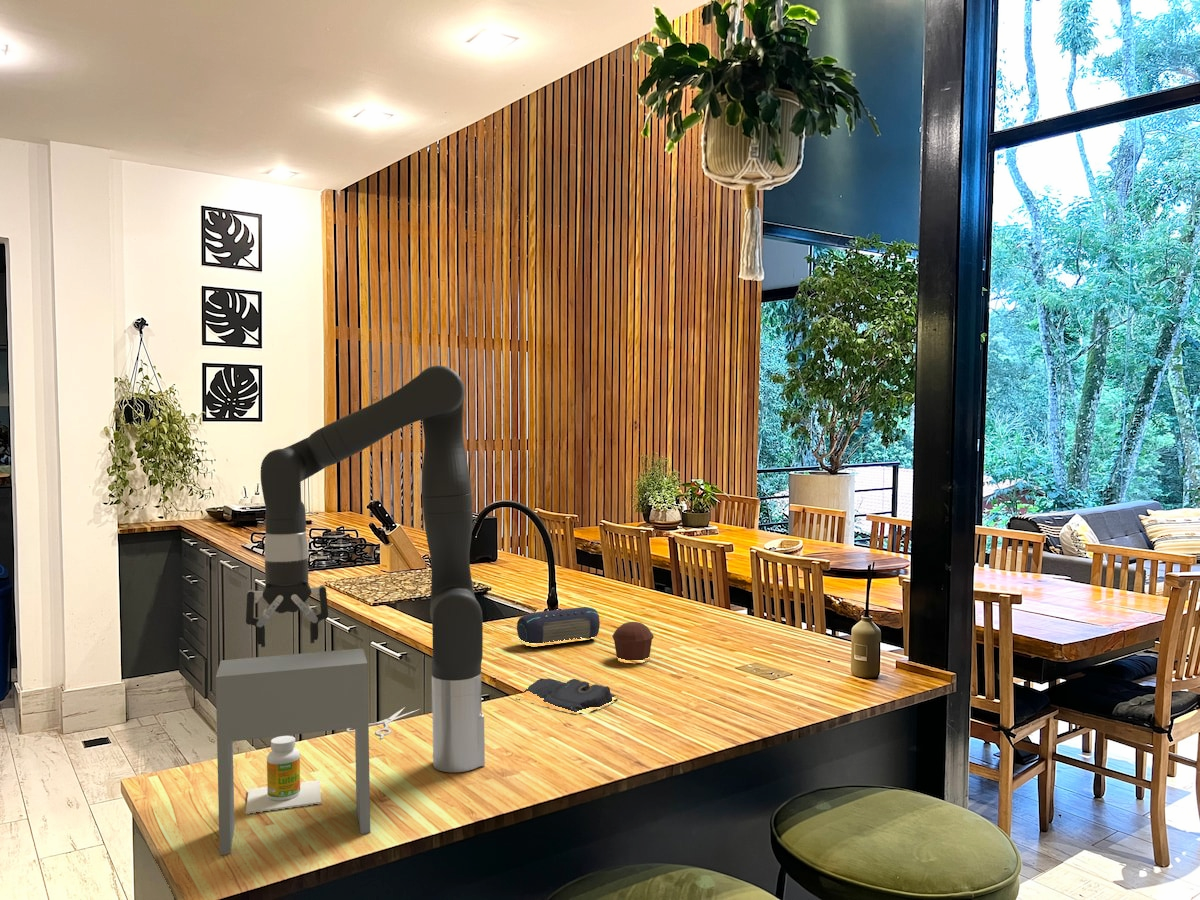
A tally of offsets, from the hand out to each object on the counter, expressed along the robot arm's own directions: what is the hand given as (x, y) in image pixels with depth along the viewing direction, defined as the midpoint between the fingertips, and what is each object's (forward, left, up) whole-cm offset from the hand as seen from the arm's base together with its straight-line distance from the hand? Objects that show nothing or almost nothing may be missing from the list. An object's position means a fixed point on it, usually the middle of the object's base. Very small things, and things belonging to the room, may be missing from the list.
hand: (288, 644), depth 166 cm
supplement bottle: (+1, +11, -24) cm, 26 cm away
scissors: (-20, -24, -25) cm, 40 cm away
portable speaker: (-74, -78, -24) cm, 110 cm away
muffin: (-88, -53, -24) cm, 106 cm away
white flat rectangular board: (+1, +11, -24) cm, 27 cm away
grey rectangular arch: (-1, +25, -24) cm, 35 cm away
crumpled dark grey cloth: (-61, -25, -25) cm, 70 cm away
